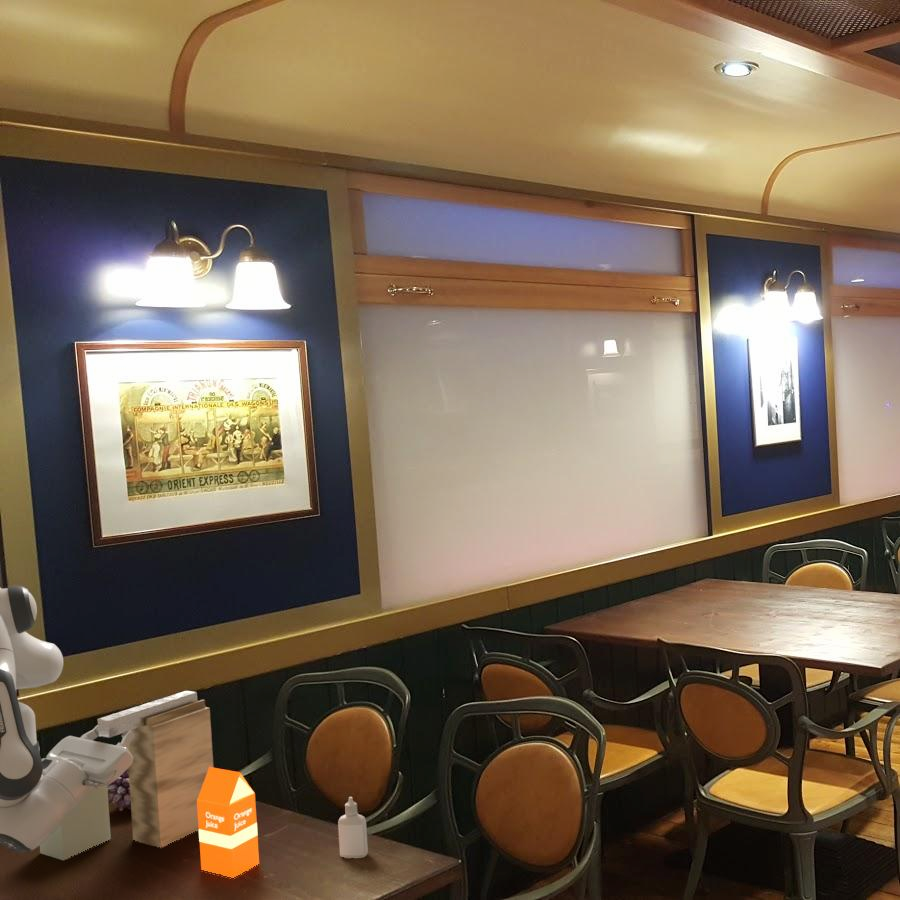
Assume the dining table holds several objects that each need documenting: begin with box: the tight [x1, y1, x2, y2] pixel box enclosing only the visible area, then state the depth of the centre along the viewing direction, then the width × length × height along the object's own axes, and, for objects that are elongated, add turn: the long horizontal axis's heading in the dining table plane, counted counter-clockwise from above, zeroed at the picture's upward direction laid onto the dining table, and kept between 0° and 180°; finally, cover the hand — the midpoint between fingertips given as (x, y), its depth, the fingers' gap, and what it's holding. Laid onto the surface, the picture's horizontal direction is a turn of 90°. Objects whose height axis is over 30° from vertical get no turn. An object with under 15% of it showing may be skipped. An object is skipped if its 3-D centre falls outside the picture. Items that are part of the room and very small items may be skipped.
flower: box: [107, 769, 131, 812], centre depth 246 cm, size 12×12×12 cm
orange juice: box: [197, 766, 260, 879], centre depth 210 cm, size 8×9×20 cm
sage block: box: [39, 785, 112, 861], centre depth 226 cm, size 8×12×15 cm, turn 146°
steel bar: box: [97, 690, 198, 738], centre depth 227 cm, size 4×24×4 cm, turn 146°
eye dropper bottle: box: [337, 796, 369, 859], centre depth 213 cm, size 4×6×12 cm
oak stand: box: [128, 699, 214, 849], centre depth 231 cm, size 9×16×28 cm, turn 146°
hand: (116, 730), depth 219 cm, fingers open, 8 cm apart
